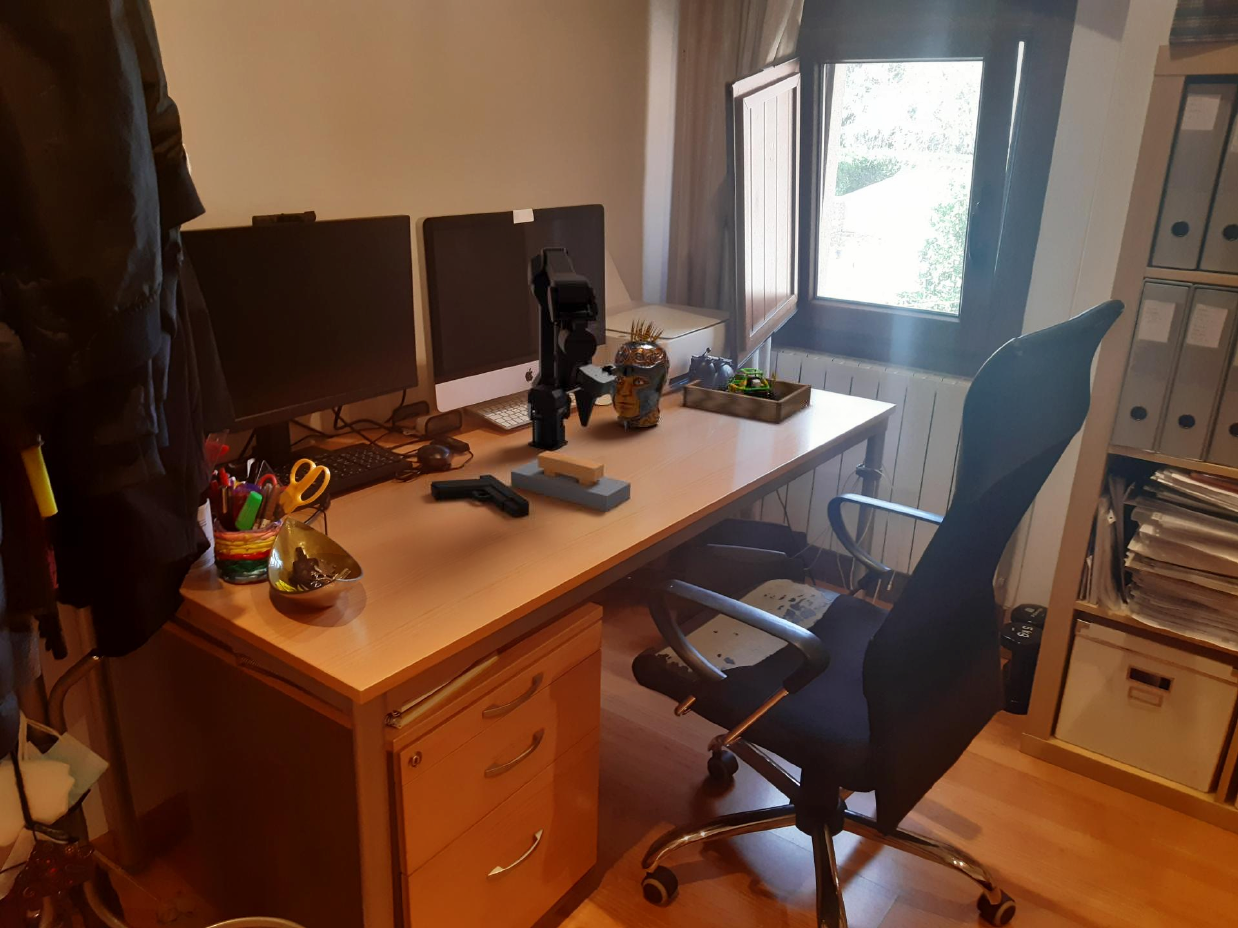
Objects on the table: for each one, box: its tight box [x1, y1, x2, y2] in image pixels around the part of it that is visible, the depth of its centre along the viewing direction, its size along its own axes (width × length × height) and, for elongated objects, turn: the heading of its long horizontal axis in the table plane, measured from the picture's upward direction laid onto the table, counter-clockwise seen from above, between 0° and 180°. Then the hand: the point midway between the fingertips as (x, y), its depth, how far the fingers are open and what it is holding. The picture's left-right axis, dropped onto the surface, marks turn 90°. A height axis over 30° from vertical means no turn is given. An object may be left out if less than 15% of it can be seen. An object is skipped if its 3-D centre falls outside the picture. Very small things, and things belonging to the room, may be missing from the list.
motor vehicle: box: [718, 367, 781, 406], centre depth 229 cm, size 12×19×11 cm, turn 13°
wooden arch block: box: [537, 450, 605, 486], centre depth 172 cm, size 13×3×6 cm, turn 58°
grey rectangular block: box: [510, 459, 631, 512], centre depth 173 cm, size 22×8×3 cm, turn 58°
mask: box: [610, 318, 671, 433], centre depth 211 cm, size 12×21×25 cm, turn 157°
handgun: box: [430, 474, 530, 518], centre depth 166 cm, size 3×19×12 cm
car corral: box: [682, 372, 812, 424], centre depth 231 cm, size 26×20×5 cm
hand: (570, 432), depth 169 cm, fingers open, 9 cm apart
